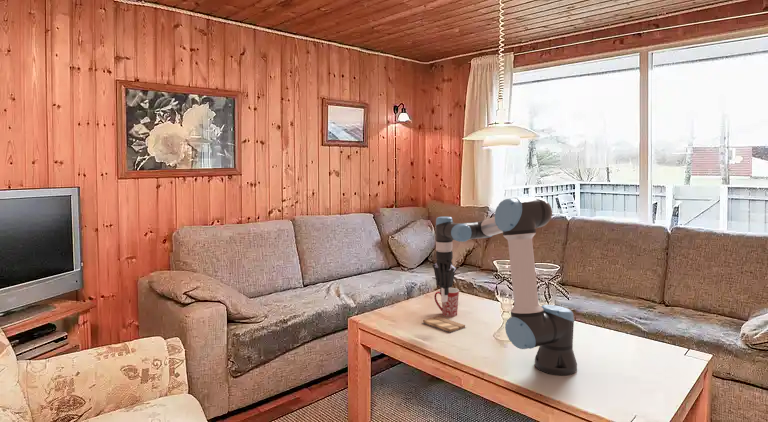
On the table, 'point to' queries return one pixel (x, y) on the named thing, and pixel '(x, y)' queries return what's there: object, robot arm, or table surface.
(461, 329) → the floor panel
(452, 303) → the mug
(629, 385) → the table surface
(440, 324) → the plank
